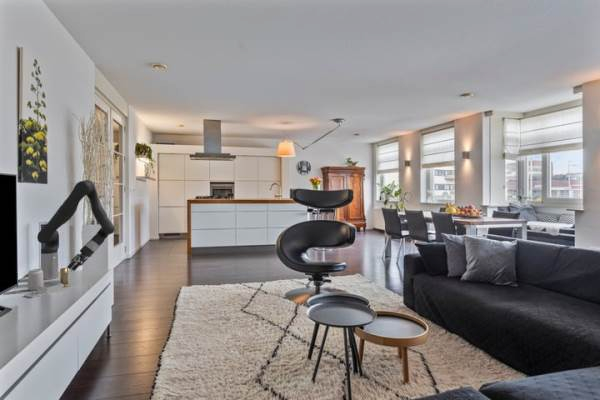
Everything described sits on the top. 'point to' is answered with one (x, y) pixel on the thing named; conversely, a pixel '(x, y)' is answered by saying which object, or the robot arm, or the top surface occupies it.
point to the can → (35, 279)
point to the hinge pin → (64, 275)
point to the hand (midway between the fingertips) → (70, 269)
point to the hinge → (49, 289)
